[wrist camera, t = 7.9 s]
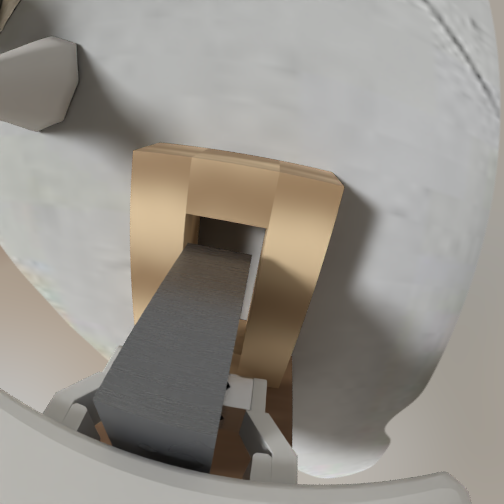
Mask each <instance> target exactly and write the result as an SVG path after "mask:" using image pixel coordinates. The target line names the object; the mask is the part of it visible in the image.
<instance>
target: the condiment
mask: <svg viewBox="0 0 504 504" xmlns="http://www.w3.org/2000/svg"><path fill="white" fill-rule="evenodd" d="M19 1H20V0H0V32H1V31H2V30H3V27H4V25H5V23H6V21H7V20H8V18H9V17H10V15H11V14H12V12H13V10H14V9H15V7H16V5H17V4H18V3H19Z"/></svg>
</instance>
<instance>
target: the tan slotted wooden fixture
mask: <svg viewBox="0 0 504 504" xmlns="http://www.w3.org/2000/svg"><path fill="white" fill-rule="evenodd" d="M343 191H344V185H343V184H342V183H341V182H340V181H339V180H338V179H337V177H336V176H335V175H334V174H333V173H332V172H329V171H325V170H321V169H317V168H312V167H308V166H303V165H299V164H294V163H289V162H284V161H279V160H274V159H269V158H264V157H258V156H253V155H247V154H241V153H235V152H229V151H222V150H216V149H209V148H202V147H194V146H186V145H178V144H169V143H156V144H153V145H149V146H146V147H143V148H140V149H136V150H133V160H132V176H131V202H130V256H131V282H132V299H133V312H134V324H135V325H136V323H137V321H138V320H139V318H140V317H141V315H142V313H143V312H144V310H145V308H146V307H147V305H148V304H149V302H150V300H151V299H152V297H153V296H154V294H155V292H156V291H157V289H158V288H159V286H160V285H161V283H162V281H163V280H164V278H165V277H166V275H167V274H168V272H169V271H170V269H171V267H172V266H173V264H174V263H175V261H176V260H177V258H178V257H179V255H180V254H181V252H182V251H183V249H184V248H185V246H186V245H187V243H192V244H198V234H199V224H200V216H203V217H208V218H214V219H219V220H225V221H230V222H235V223H241V224H246V225H251V226H256V227H262V228H266V231H265V236H264V241H263V245H262V250H261V255H260V260H259V265H258V270H257V275H256V279H255V284H254V289H253V294H252V299H251V303H250V308H249V313H248V318H247V321H246V320H241V319H240V320H239V325H238V330H237V335H236V340H235V346H234V351H233V356H232V361H231V366H230V372H229V373H230V374H236V375H241V376H247V377H253V378H258V379H265V380H267V391H266V405H265V413H269V415H270V416H271V418H272V419H273V421H274V422H275V424H276V425H277V427H278V428H279V430H280V431H281V433H282V434H283V436H284V437H285V439H286V440H287V442H288V443H289V445H290V446H291V447H292V356H291V355H292V352H293V349H294V346H295V344H296V341H297V338H298V335H299V333H300V330H301V327H302V324H303V321H304V318H305V316H306V313H307V310H308V307H309V304H310V301H311V298H312V295H313V292H314V289H315V286H316V283H317V280H318V276H319V273H320V270H321V267H322V264H323V261H324V257H325V254H326V251H327V247H328V244H329V241H330V237H331V234H332V230H333V227H334V223H335V220H336V216H337V213H338V209H339V205H340V202H341V198H342V194H343ZM95 428H96V430H97V432H98V434H99V436H100V438H101V439H100V441H101V442H103V443H106V444H108V445H111V446H112V444H111V441H110V439H109V437H108V435H107V433H106V430H105V428H104V426H103V424H102V421H101V422H99V423H98V424H96V425H95ZM250 460H251V457H250V455H249V453H248V451H247V449H246V447H245V445H244V443H243V441H242V439H241V437H240V435H239V433H237V432H232V431H227V430H222V429H218V434H217V439H216V444H215V449H214V454H213V459H212V464H211V470H210V474H213V475H219V476H225V477H231V478H237V479H242V478H243V474H244V472H245V470H246V468H247V466H248V464H249V462H250Z"/></svg>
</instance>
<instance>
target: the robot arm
mask: <svg viewBox="0 0 504 504" xmlns="http://www.w3.org/2000/svg"><path fill="white" fill-rule="evenodd" d="M122 347H123V346H119V347H117V348H116V350H115V352H114V353H113V355H112V357H111V358H110V360H109V362H108V363H107V365H106V367H105V368H104V370H103V372H97V373H95V374H93V375H91V376H89V377H87V378H85V379H83V380H81V381H79V382H76V383H75V384H72V385H70V386H68V387H66V388H64V389H62V390H60V391H58V392H56V393H55V395H54V396H53V398H52V400H51V401H50V403H49V404H48V406H47V407H46V409H45V411H44V412H43V414H42V413H40V412H38V411H36V410H34V409H32V408H31V407H29V406H28V405H26V404H24V403H23V402H21V401H19V400H18V399H16V398H15V397H13V396H11V395H10V394H8V393H7V392H5V391H3V390H2V389H1V388H0V504H471V499H470V495H469V492H468V490H467V488H465V486H464V485H463V484H461V483H460V482H459V481H458V480H457V479H456V478H455V477H453V476H452V475H451V474H449V473H448V472H437V473H433V474H428V475H423V476H417V477H411V478H405V479H399V480H392V481H391V480H390V481H382V482H373V483H360V484H337V485H307V484H303V485H302V484H297V459H298V456H297V455H296V453H295V452H294V450H293V449H292V447H291V446H290V445H289V443H288V442H287V440H286V439H285V437H284V436H283V434H282V433H281V431H280V430H279V428H278V427H277V425H276V424H275V422H274V421H273V419H272V418H271V416H270V415H269V413H265V405H266V391H267V380H265V379H258V378H253V377H247V376H241V375H236V374H230V373H229V376H228V381H227V387H226V392H225V397H224V402H223V407H222V412H221V418H220V423H219V428H218V429H222V430H227V431H232V432H237V433H239V435H240V437H241V439H242V441H243V443H244V445H245V447H246V449H247V451H248V453H249V455H250V457H251V460H250V462H249V464H248V466H247V468H246V470H245V472H244V474H243V478H242V479H237V478H231V477H225V476H219V475H213V474H208V473H203V472H198V471H194V470H189V469H185V468H181V467H177V466H173V465H169V464H166V463H162V462H159V461H155V460H152V459H149V458H145V457H142V456H139V455H136V454H133V453H130V452H127V451H124V450H122V449H119V448H116V447H114V446H111V445H108V444H106V443H103V442H101V441H100V439H101V438H100V436H99V434H98V432H97V430H96V428H95V425H96V424H98V423H99V422H101V419H100V417H99V414H98V412H97V409H96V407H95V404H94V402H93V398H94V396H95V394H96V393H97V391H98V389H99V387H100V385H101V383H102V382H103V380H104V378H105V376H106V374H107V373H108V371H109V369H110V367H111V366H112V364H113V362H114V360H115V359H116V357H117V355H118V353H119V352H120V350H121V348H122Z"/></svg>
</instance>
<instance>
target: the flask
mask: <svg viewBox="0 0 504 504" xmlns="http://www.w3.org/2000/svg"><path fill="white" fill-rule="evenodd" d="M78 82H79V78H78V64H77V44H76V43H73V42H70V41H67V40H64V39H60V38H57V37H54V36H50V37H47V38H43V39H40V40H37V41H34V42H31V43H29V44H26V45H23V46H21V47H18V48H16V49H13V50H10V51H7V52H5V53H2V54H0V121H4V122H8V123H11V124H14V125H17V126H20V127H23V128H25V129H28V130H32V131H35V132H38V131H40V130H42V129H44V128H47V127H49V126H51V125H54V124H56V123H59V122H61V121H63V120H64V118H65V115H66V112H67V109H68V107H69V104H70V101H71V99H72V96H73V94H74V91H75V89H76V87H77V84H78Z"/></svg>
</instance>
